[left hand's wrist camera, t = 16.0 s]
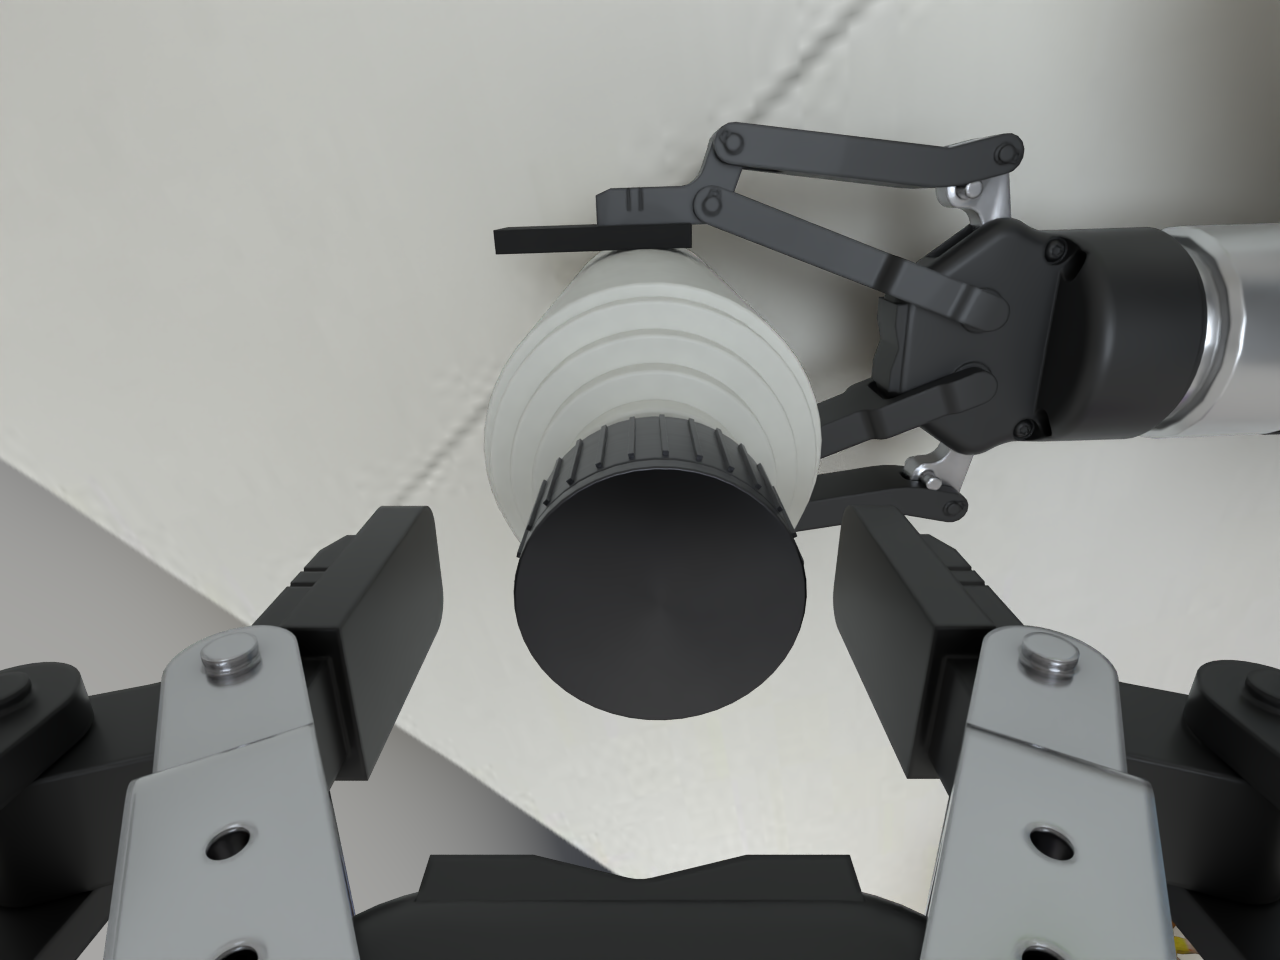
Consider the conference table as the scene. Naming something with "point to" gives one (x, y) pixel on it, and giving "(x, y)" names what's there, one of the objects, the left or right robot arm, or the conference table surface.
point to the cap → (659, 571)
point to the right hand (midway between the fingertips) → (514, 355)
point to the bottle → (649, 376)
